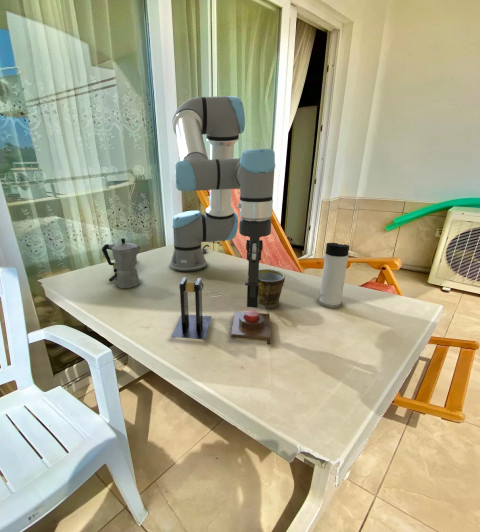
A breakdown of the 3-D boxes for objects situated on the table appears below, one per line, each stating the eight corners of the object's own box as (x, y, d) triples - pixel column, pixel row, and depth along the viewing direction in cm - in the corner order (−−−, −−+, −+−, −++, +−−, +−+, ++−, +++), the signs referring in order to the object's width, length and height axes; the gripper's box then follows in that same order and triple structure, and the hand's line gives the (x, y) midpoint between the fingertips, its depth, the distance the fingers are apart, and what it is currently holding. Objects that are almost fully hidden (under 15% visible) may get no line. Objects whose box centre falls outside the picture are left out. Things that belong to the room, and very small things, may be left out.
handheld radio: (138, 261, 140) (115, 283, 117) (131, 261, 141) (107, 283, 118) (136, 247, 138) (112, 267, 115) (129, 248, 138) (104, 267, 115)
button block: (234, 317, 90) (234, 305, 88) (269, 320, 88) (269, 308, 86) (231, 341, 79) (231, 328, 77) (270, 344, 77) (271, 331, 75)
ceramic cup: (258, 294, 104) (259, 267, 100) (287, 301, 98) (289, 272, 95) (241, 310, 94) (242, 280, 91) (272, 318, 89) (274, 287, 85)
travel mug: (315, 304, 96) (322, 243, 89) (323, 297, 100) (331, 238, 93) (336, 310, 92) (345, 247, 85) (343, 302, 96) (353, 242, 89)
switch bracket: (181, 317, 91) (179, 271, 86) (211, 319, 89) (211, 273, 84) (171, 340, 80) (167, 289, 75) (205, 343, 78) (203, 291, 73)
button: (245, 315, 84) (245, 309, 83) (258, 315, 83) (258, 310, 83) (244, 321, 81) (244, 316, 80) (258, 322, 80) (258, 316, 79)
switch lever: (193, 291, 92) (193, 280, 92) (204, 292, 91) (204, 280, 91) (183, 293, 79) (183, 280, 79) (196, 294, 78) (196, 281, 78)
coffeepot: (148, 279, 120) (144, 235, 113) (140, 289, 111) (135, 242, 105) (112, 278, 122) (106, 234, 116) (101, 287, 114) (94, 241, 107)
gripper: (240, 212, 79) (239, 294, 87) (237, 223, 67) (236, 317, 75) (270, 213, 78) (266, 296, 86) (272, 224, 66) (267, 319, 74)
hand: (252, 305), depth 81 cm, fingers closed
